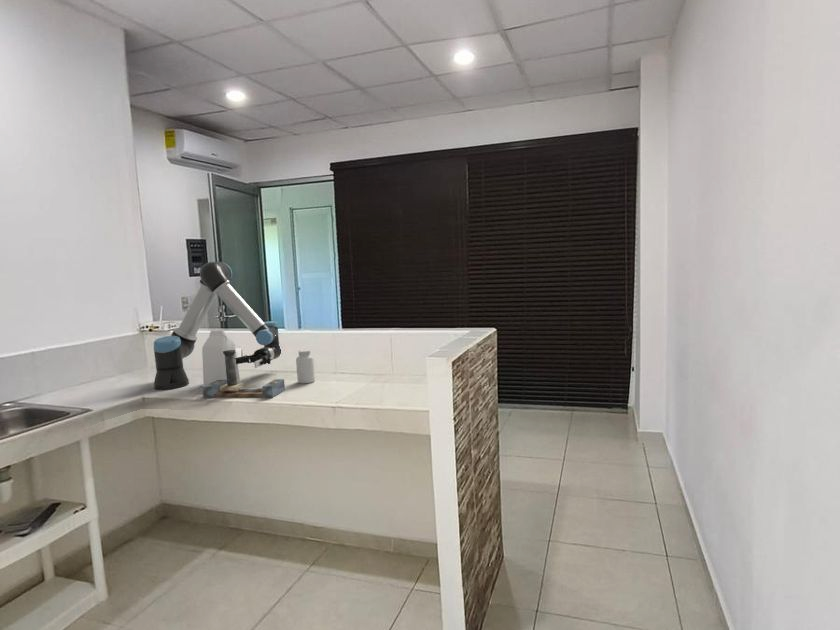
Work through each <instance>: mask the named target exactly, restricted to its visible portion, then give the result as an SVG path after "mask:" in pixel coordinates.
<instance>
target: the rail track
mask: <svg viewBox="0 0 840 630" xmlns="http://www.w3.org/2000/svg"><path fill="white" fill-rule="evenodd" d="M225 384H227V380H216V381H214V382H212V383H210V384H207V385H205V386H204V385H203V386H202V396H203V399H213V398H262V399H273V397H274V398H275V397H276V396H278V395H280V394H282V393H283V392H284V391H286V387H285V384H286V383H285V379H284V378H283V379H281V378H280V379H279V378H277V379H272V380H271V381H269V382H267V383H266V384H264V385H262V386H261V387H243V388H239V389H238V391H222V390H220V387H221V386H223V385H225Z"/></svg>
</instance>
